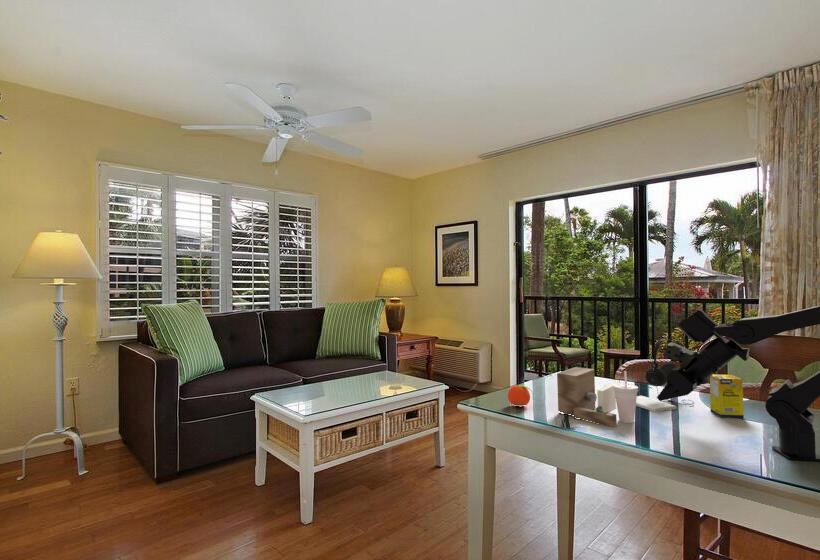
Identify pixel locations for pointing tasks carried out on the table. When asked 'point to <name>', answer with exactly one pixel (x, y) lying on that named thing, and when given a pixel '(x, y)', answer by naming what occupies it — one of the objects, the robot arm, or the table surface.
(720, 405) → the supplement box
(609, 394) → the cream flat box
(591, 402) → the brown blocky piece
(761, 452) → the table surface
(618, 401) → the smoothie
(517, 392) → the clementine
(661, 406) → the external hard drive
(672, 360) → the headphones
